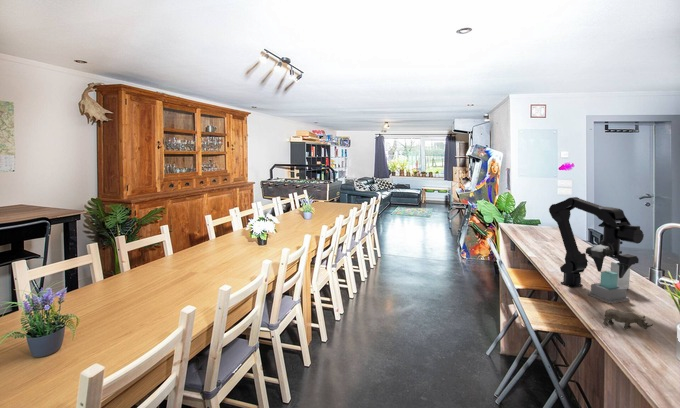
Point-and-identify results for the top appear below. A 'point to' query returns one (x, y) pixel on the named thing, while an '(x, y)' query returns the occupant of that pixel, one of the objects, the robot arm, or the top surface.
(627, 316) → the rhino figurine
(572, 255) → the robot arm
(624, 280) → the skincare box
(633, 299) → the top surface
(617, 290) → the socket block
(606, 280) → the teal peg
